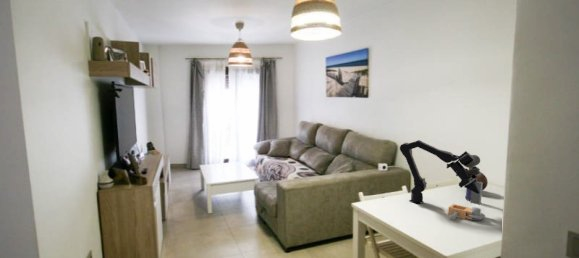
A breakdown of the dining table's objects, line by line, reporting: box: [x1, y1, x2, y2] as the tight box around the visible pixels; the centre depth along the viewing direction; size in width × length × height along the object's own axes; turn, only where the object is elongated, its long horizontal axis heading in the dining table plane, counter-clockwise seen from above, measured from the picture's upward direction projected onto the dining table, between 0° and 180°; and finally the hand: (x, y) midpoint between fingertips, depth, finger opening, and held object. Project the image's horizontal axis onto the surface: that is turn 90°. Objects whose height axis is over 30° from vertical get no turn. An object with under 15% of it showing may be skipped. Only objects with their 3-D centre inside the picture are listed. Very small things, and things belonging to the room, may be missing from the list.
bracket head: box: [447, 203, 486, 222], centre depth 171 cm, size 17×16×6 cm
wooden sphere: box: [465, 171, 489, 192], centre depth 219 cm, size 15×15×15 cm
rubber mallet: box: [463, 154, 481, 201], centre depth 200 cm, size 12×8×30 cm, turn 130°
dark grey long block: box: [470, 181, 483, 206], centre depth 177 cm, size 4×4×12 cm
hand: (479, 192), depth 176 cm, fingers closed on dark grey long block, 3 cm apart
